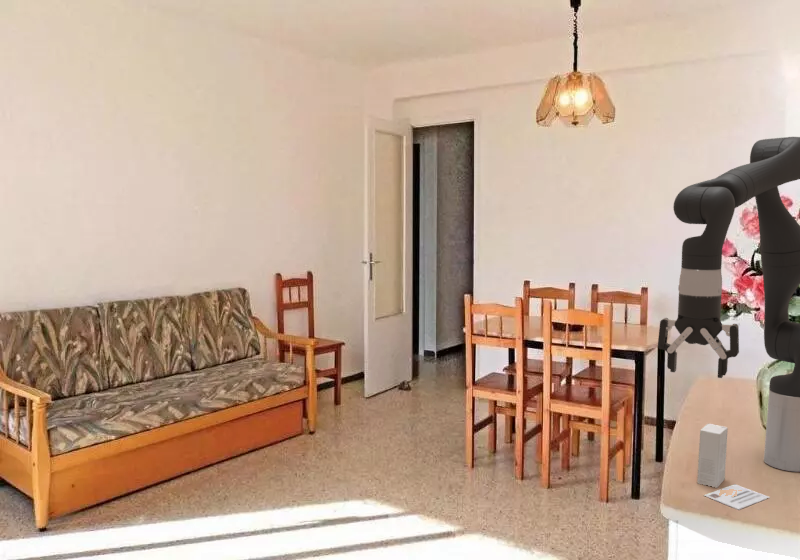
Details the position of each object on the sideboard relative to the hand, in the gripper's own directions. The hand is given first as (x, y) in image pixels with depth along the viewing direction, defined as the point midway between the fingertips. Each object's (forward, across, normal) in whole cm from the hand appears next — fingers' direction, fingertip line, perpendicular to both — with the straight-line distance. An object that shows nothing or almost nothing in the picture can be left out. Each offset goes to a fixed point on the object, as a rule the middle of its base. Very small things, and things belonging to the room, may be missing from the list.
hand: (696, 374), depth 133 cm
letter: (+27, -7, -9) cm, 30 cm away
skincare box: (+27, -2, -15) cm, 31 cm away
